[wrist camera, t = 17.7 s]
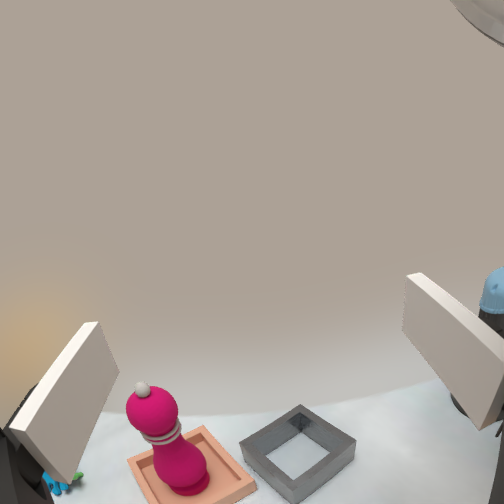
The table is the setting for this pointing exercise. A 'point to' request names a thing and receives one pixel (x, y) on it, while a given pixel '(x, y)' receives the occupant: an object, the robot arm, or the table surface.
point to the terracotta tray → (218, 466)
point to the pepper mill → (167, 440)
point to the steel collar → (285, 430)
